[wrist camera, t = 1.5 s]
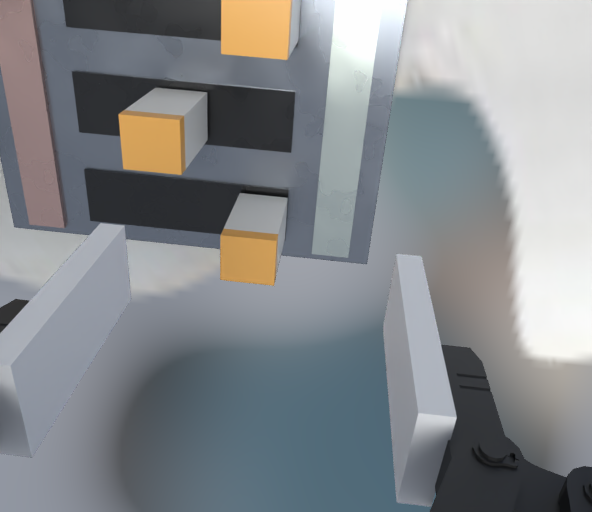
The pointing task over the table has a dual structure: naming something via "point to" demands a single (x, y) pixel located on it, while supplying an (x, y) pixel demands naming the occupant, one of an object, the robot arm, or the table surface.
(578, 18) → the table surface
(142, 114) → the block
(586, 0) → the table surface
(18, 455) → the robot arm
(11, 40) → the panel
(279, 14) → the breaker near
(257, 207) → the breaker far
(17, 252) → the table surface
